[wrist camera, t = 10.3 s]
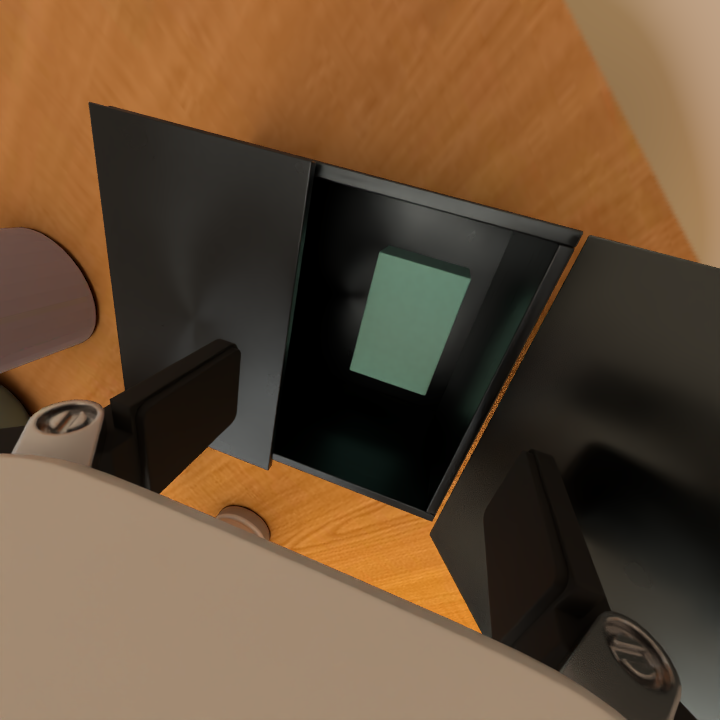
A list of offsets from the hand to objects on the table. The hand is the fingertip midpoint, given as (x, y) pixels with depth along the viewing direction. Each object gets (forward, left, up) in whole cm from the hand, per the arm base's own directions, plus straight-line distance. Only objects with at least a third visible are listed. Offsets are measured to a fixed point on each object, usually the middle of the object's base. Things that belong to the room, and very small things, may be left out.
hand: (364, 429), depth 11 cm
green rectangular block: (0, 0, -13) cm, 13 cm away
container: (+31, +8, -13) cm, 35 cm away
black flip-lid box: (+4, 0, -13) cm, 14 cm away
